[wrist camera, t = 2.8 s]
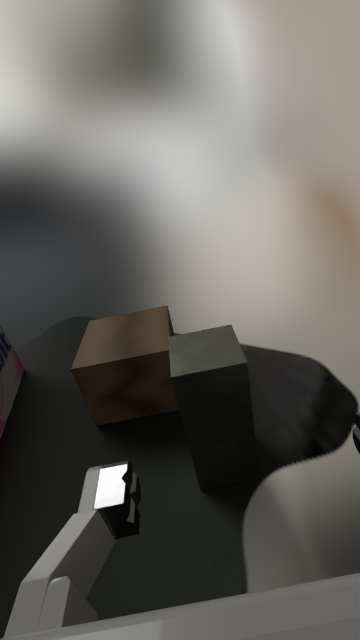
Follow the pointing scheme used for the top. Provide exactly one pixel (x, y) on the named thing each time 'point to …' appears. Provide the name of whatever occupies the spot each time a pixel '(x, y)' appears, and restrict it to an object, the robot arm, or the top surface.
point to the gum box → (8, 378)
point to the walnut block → (126, 366)
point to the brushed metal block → (215, 405)
